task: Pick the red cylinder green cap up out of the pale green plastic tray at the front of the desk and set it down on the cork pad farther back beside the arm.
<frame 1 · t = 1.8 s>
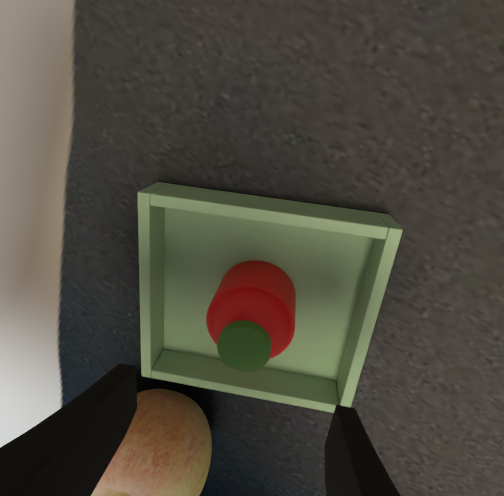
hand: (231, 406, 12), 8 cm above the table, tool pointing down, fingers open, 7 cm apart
tray: (258, 290, 20), on the table
red cylinder green cap: (257, 295, 19), resting on tray
fruit: (173, 406, 24), on the table
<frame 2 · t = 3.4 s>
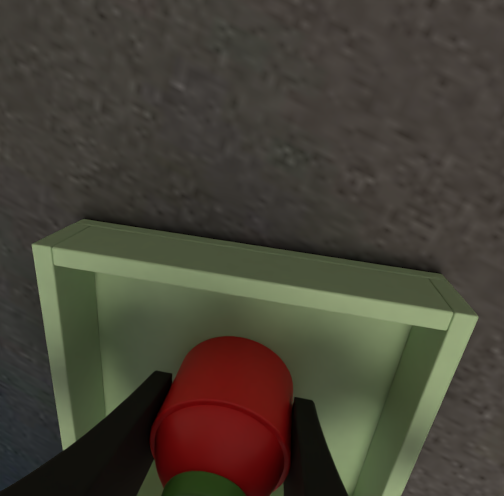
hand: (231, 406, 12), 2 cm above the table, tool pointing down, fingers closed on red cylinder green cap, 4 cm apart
tray: (238, 373, 14), on the table
red cylinder green cap: (235, 383, 13), point 1 cm above the table, touching gripper, tray
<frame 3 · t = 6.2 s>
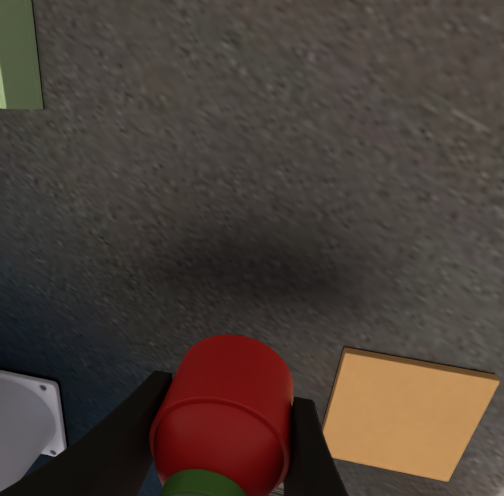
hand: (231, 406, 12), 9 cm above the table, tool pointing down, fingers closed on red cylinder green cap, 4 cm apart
mat: (397, 413, 22), on the table
red cylinder green cap: (235, 381, 13), point 8 cm above the table, touching gripper
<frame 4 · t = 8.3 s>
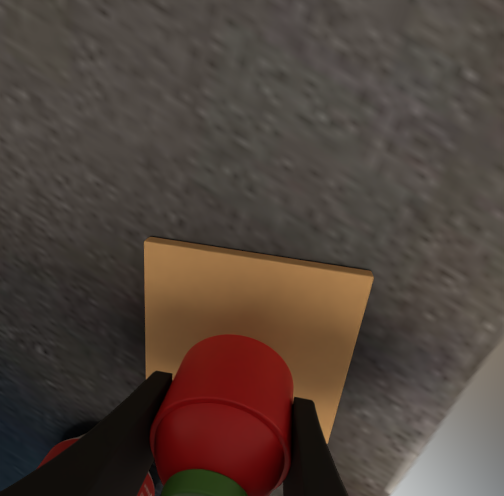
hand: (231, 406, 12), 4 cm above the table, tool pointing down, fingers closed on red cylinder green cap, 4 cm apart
mat: (245, 343, 15), on the table
beverage can: (111, 458, 20), on the table
red cylinder green cap: (235, 381, 13), point 2 cm above the table, touching gripper
when the fingers open (2 cm above the table, at t = 9.4 s): red cylinder green cap stays where it is, resting on mat.
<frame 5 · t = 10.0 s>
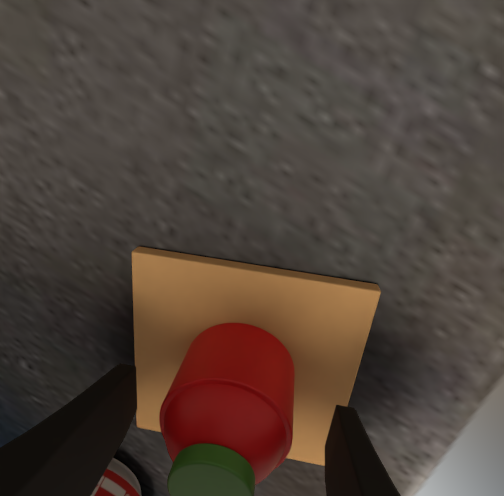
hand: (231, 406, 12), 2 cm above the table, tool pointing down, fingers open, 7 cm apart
mat: (242, 360, 14), on the table
beverage can: (101, 477, 19), on the table
red cylinder green cap: (239, 368, 14), point 1 cm above the table, touching mat
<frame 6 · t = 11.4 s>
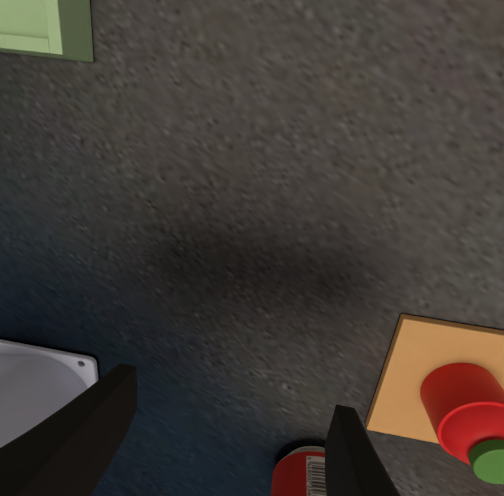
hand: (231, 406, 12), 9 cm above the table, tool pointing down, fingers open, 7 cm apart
mat: (453, 385, 21), on the table
beverage can: (314, 465, 26), on the table
red cylinder green cap: (457, 391, 21), point 1 cm above the table, touching mat
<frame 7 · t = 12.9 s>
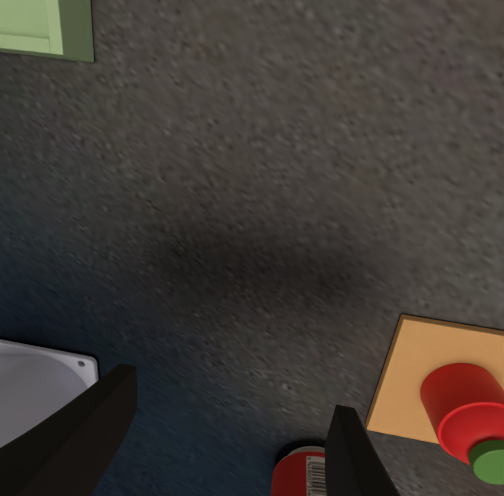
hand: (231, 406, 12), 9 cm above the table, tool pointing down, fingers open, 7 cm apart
mat: (453, 385, 22), on the table
beverage can: (314, 465, 26), on the table
red cylinder green cap: (457, 391, 21), point 1 cm above the table, touching mat
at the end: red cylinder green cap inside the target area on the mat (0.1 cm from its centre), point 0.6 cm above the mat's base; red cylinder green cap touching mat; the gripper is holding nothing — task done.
